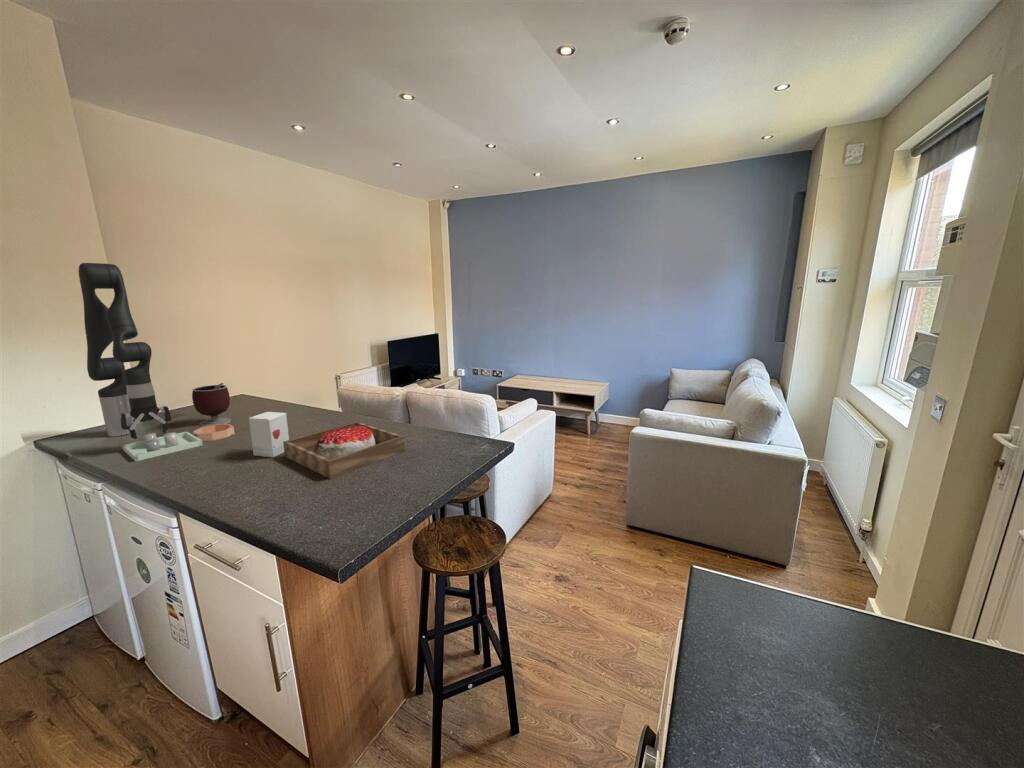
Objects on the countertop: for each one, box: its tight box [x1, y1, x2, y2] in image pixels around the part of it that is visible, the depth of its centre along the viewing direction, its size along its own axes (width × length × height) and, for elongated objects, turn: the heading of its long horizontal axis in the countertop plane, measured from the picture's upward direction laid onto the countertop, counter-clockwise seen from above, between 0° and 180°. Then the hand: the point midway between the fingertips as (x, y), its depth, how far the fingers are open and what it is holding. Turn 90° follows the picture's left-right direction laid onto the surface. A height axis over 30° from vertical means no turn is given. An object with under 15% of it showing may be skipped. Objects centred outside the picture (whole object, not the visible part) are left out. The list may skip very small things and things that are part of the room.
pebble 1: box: [142, 432, 158, 448], centre depth 156 cm, size 4×4×5 cm
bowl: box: [192, 423, 235, 442], centre depth 169 cm, size 13×13×4 cm
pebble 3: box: [163, 431, 178, 448], centre depth 157 cm, size 4×4×5 cm
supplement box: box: [248, 411, 290, 458], centre depth 152 cm, size 9×9×15 cm
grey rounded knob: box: [145, 440, 160, 452], centre depth 149 cm, size 4×4×5 cm
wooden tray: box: [283, 421, 406, 480], centre depth 152 cm, size 31×30×6 cm
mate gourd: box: [191, 382, 232, 428], centre depth 187 cm, size 16×14×20 cm
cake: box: [313, 426, 376, 460], centre depth 151 cm, size 23×24×10 cm
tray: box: [121, 431, 204, 462], centre depth 155 cm, size 18×20×3 cm
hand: (149, 435), depth 155 cm, fingers open, 8 cm apart
